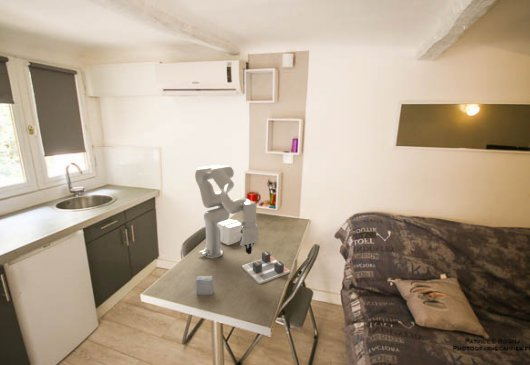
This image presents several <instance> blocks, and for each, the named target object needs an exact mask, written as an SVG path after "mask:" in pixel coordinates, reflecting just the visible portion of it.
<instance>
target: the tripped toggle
mask: <svg viewBox="0 0 530 365" xmlns="http://www.w3.org/2000/svg"><path fill="white" fill-rule="evenodd" d="M255 261H256V262H254V261H252V262H253V271H254V272H255V273H259V272H262V263H260V262H259V261H258V260H255Z"/></svg>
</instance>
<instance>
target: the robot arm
mask: <svg viewBox="0 0 530 365" xmlns="http://www.w3.org/2000/svg"><path fill="white" fill-rule="evenodd" d="M194 177H195V182H196V184H197V186H198V188H199V192H200V196H201V200H202V204H203V206H204V208H206V209H209V210H207V211H206V212H205V213H204V214H203V221H204V226H205V247H204V249H203V250H200V251H199V252H198V253H199V255H202V256H204V257H205V258H206V259H219V258H220V257H222V255H223V254H224V251H223V250H222V249H221V241H220V228H219V226H218V225H217V223H219V222H222V221H225V220H229V219H230V214H232V215H234V214H237V213H241V212H242V222H240V223H241V226H242V227H241V231H240V241H239V243H240V244H239V245H240V246H241V247H245V253H246V254H247V255H251V254H252V250H253V249H252V248H253V247H254V246H253V245H254V244H256V243H257V242H258V241H259V227H258V224H257V203H256V202H255V201H253V200H250V199H249V198H247V197H240V198H235V199H231V198H230V197H229V194H228V193H230V192H231V191H232V189H233V188H234V186H235V184H234V181H233V180H232V178H233V177H234V169H233V168H232V167H231V165H228V164H227V165H221V164H220V165H209V166H202V167H198V168H197V169H196V171H195V174H194ZM209 180H213V181H214V183H215V184H216V185H217V186H218V188H219V189H220V191H214V187H213V185H212V183H211V182H210V181H209ZM215 207H216V208H215ZM211 208H212V209H211Z"/></svg>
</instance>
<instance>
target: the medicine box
mask: <svg viewBox="0 0 530 365" xmlns="http://www.w3.org/2000/svg"><path fill="white" fill-rule="evenodd" d="M195 283H196V284H195V287H196V295H197V296H211V295H213V291H214V276H213V275H198V276H197V278H196V280H195Z"/></svg>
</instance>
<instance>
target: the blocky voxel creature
mask: <svg viewBox="0 0 530 365" xmlns="http://www.w3.org/2000/svg"><path fill="white" fill-rule="evenodd" d="M241 223H242V222H240V221H239V220H237V219H232V218H228V219H227V220H225V221H222V222H219V223H217V225H218V226H219V228H220V243H222V242H223V243H222V244H225V245H227V246H231V245H233V244H235V243H238V241H239V242H240V231H241V227H242V226H241Z"/></svg>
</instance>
